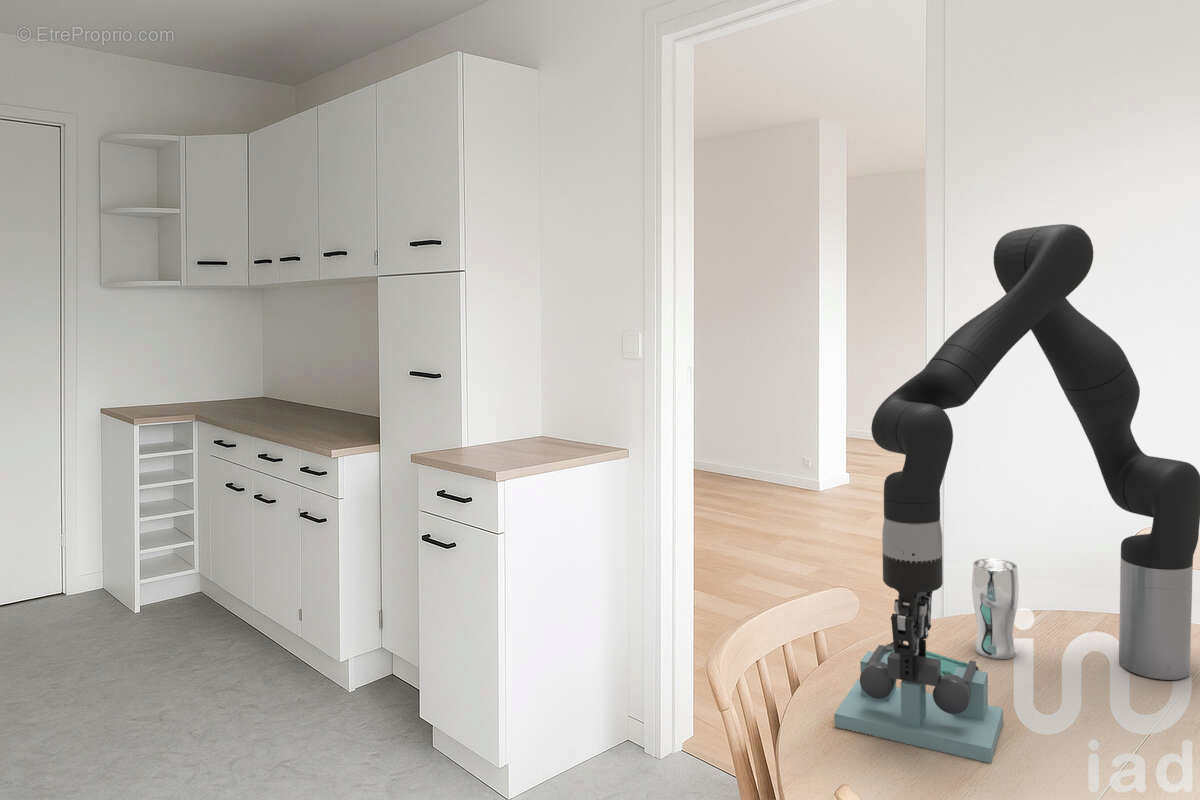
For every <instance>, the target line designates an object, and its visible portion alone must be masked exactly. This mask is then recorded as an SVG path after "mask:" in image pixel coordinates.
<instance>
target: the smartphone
mask: <svg viewBox="0 0 1200 800" xmlns="http://www.w3.org/2000/svg"><path fill="white" fill-rule="evenodd" d="M904 644H905V643H904ZM905 645H907V644H905ZM884 646H885V654H887V655H889V654H890V653H891V651H894V643H893V641H892V642H891V643H888V644H887V645H884ZM873 652H875V651H873ZM926 657H928V658H934V659H940V660H941V677H942V676H944V675H948V674H952V675H953V674H954V672H955V670H956V668H957V667H960V668H967V666H968V664H969V662H964V661H961V660H958V659H955V658H951V657H947V656H944V655H942V654H938V653H935V652H931V651H929V650H926ZM976 670H977V671H979V666H977V665H976Z"/></svg>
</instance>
